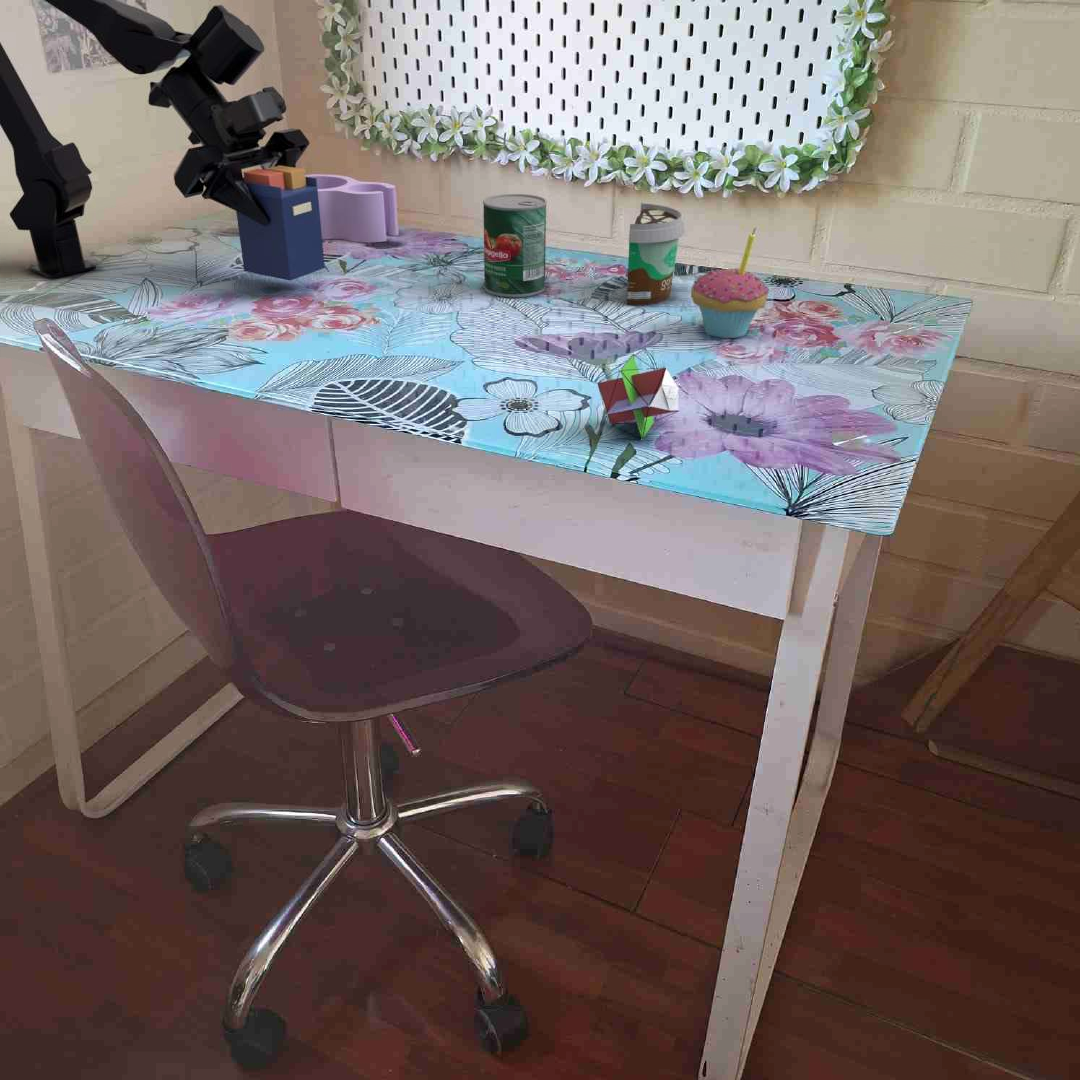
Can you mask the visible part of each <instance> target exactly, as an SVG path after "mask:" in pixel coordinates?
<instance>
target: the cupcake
mask: <svg viewBox="0 0 1080 1080" xmlns="http://www.w3.org/2000/svg"><path fill="white" fill-rule="evenodd" d="M756 230H757V227H754V228H753V230H752V233H750V234H748V238H747V242H746V245H745V249H744V252H743V256H742V259H741V262H740V267H739V268H729V269H727V268H725V269H721V268H719V269H715V270H710V271H708V272H707V273H705V274H703V275H701V276H699V277H698V278H697V279H696V280H695V281H693V285H692V287H691V293H690V294H691V295H690V296H691V299H692V301H693V303H694V304H695V305H696V306H698V308H699V310H700V314H701V317H702V323H703V327H704V332H705V333H706V334H708V335H710V336H712V337H715V338H722V339H736V338H741V337H745V335H747V333H748V331H749V328H750V326H751V323H752V321H753V319H754V317H755V315H756V314H757V312H758V310H759V309H763V308H765V306H766V303H767V300H768V294H769V290H770V289H769V288H768V287H767V285H766V284H765V283H764V282H763V281H762V279H761V278H759V277H757V275H755V274H752V273H751V272H750V271H746V270H747V266H748V263H749V259H750V256H751V252H752V249H753V245H754V242H755V238H756V235H755V233H756Z"/></svg>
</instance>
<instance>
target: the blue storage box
mask: <svg viewBox="0 0 1080 1080" xmlns="http://www.w3.org/2000/svg"><path fill="white" fill-rule="evenodd" d="M305 177H306V176H305ZM243 179H244V176H243ZM246 184H247V185H248V187H249V188H250V189H251V191H252V192H253V194H254V195H255V197H256V198H257V199H258V201H259V202H260V204H261V205H262V207H263V208H264V210H265V211H266V213H267V215H268V216H269V218H270V222H269V224H268V225H267V226H263V225H262V224H260V223H258V222H256V221H254V220H252V219H250V218H248V217H247V216H245V215H243V214H241V213H239V212H237V211H235V212H236V220H237V228H238V236H239V242H240V243H239V244H240V250H241V258H242V264H243V271H244V272H247V273H251V274H257V275H261V276H267V277H270V278H275V279H281V280H285V281H289V282H291V281H294V280H296V279H299V278H301V277H304V276H307V275H310V274H312V273H315V272H318V271H320V270H323V269H325V266H326V265H325V254H324V245H323V240H322V232H321V221H320V211H319V200H318V190H317V189H318V188H317V178H313V177H306V186H305V187H301V188H297V189H293V190H292V189H286V188H285V189H284V190H282V189H281V187H276V186H270V185H263V184H257V183H251V182H246Z"/></svg>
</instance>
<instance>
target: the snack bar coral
mask: <svg viewBox="0 0 1080 1080" xmlns="http://www.w3.org/2000/svg"><path fill="white" fill-rule="evenodd" d="M242 174H243V177H244V181H245V182H251V183H257V184H263V185H270V186H276V187H281V189H282V190H284V189H285V188H284V179H283V173H282V172H276V171H270V170H263V169H262V168H255V169H250V170H246V171H242Z"/></svg>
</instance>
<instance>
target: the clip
mask: <svg viewBox="0 0 1080 1080" xmlns="http://www.w3.org/2000/svg"><path fill="white" fill-rule="evenodd" d="M305 176H306V177H313V178H317V188H318V189H317V190H318V200H319V211H320V221H321V232H322V241H323V240H346V241H349V242H354V243H355V242H356V243H383V242H387V234H388V236H395V237H396V236H399V223H398V221H399V220H398V206H397V189H396V188H397V187H396V186H395V185H394V184H391V183H386V182H378V181H376V182H375V181H362V180H361V181H360V180H357V179H356V178H353V177H350V176H346V175H338V174H322V173H321V174H320V173H319V174H305Z"/></svg>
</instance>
